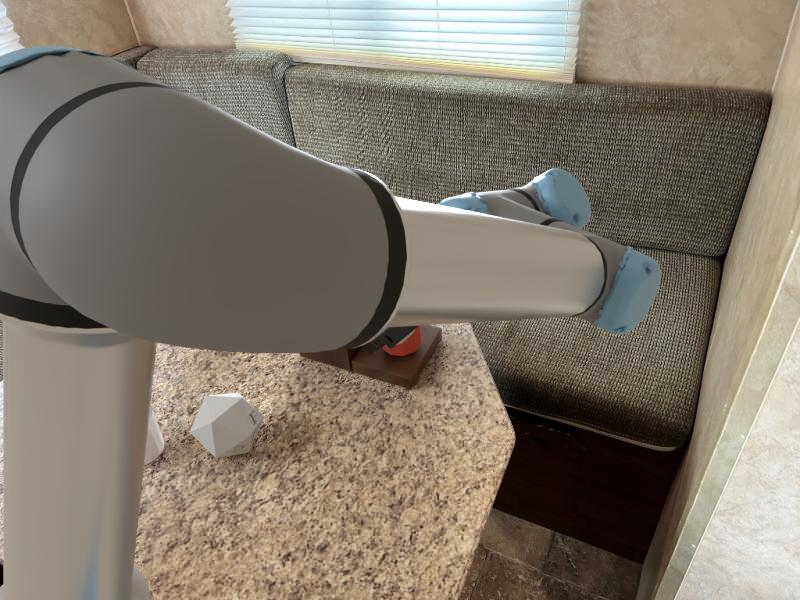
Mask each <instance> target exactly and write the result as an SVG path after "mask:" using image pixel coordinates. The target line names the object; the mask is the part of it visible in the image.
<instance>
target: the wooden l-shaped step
mask: <svg viewBox="0 0 800 600" xmlns="http://www.w3.org/2000/svg"><path fill="white" fill-rule="evenodd" d="M420 334H421V344H420V346H419V347H418V348H417V350H416V351H415V352H413V353H410V354H407V355H405V356H398V355H390V354H389V353H387V352H386V351H385V350H383V349H382V347H381V348H380V349H378V350H376V351H375V352H373V353H371V354H369V353H368V352H367V351H366V350H365V349H364V348H363V347H362V346H359V347H356V348H350V349H341V350H329V351H321V352H306V353H299V356H300V357H301V358H305V359H309V360H312V361H314V362H319V363H322V364H325V365H328V366H331V367H334V368H338V369H341V370H345V371H347V372H352V371H353V373H354V374H358V375H361V376H363V377H368V378H371V379H374V380H378V381H380V382H384V383H386V384H390V385H394V386H397V387H401V388H404V389H407V390H409V391H412V390H413V389H414V386H415V385H416V383H417V381H418V380H419V378H421V375H422V373H423V372H424V370H425V368H426V367H427V365H428V364H429V362H430V360H431V358H432V357H433V355H434V354H435V352H436V350H437V348H438V347H439V345H440V344H441V342H442V341H443V328H442V327H440V326H436V325H420Z"/></svg>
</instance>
